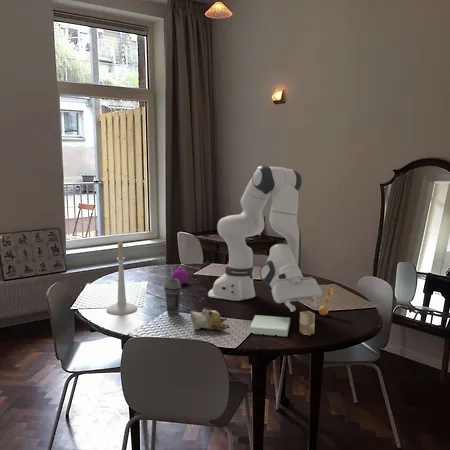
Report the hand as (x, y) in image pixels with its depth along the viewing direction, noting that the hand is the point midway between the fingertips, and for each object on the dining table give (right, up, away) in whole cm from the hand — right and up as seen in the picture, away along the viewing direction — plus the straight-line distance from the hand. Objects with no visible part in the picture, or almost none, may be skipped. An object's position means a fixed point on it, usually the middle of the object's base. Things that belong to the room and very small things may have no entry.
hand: (304, 309), depth 184 cm
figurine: (+12, -6, +20) cm, 24 cm away
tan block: (+1, -9, -1) cm, 9 cm away
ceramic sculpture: (-36, -8, +4) cm, 37 cm away
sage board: (-13, -8, +4) cm, 15 cm away
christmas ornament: (-53, +1, +67) cm, 86 cm away
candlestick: (-74, -5, +25) cm, 79 cm away
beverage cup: (-52, -5, +20) cm, 56 cm away
